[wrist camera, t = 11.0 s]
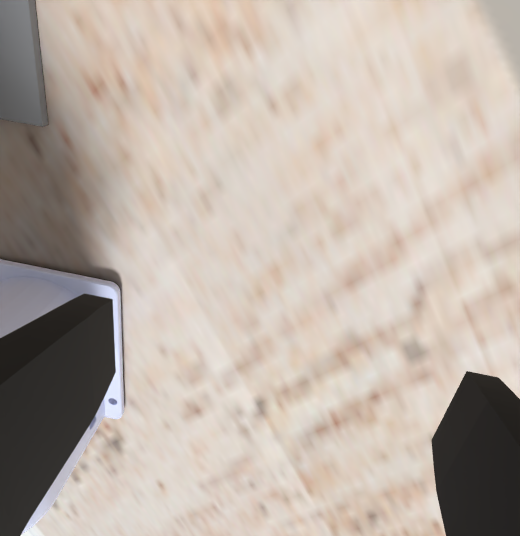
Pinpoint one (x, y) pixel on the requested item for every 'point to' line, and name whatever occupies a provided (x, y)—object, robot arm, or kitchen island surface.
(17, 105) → the grey flat square slab
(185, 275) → the kitchen island surface
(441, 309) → the kitchen island surface
